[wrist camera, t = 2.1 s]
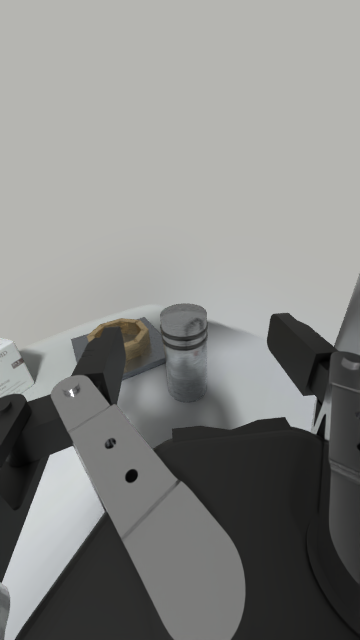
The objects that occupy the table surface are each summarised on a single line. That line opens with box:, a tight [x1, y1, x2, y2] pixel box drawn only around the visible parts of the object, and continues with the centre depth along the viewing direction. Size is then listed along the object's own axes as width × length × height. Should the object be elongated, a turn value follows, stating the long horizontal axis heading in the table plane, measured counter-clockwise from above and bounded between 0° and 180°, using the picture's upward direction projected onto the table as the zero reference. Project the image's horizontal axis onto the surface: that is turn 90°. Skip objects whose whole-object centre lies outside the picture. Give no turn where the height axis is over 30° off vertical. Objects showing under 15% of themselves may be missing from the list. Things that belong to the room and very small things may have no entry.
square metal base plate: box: [71, 317, 166, 380], centre depth 36 cm, size 14×14×4 cm
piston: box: [160, 304, 207, 402], centre depth 27 cm, size 5×5×11 cm
